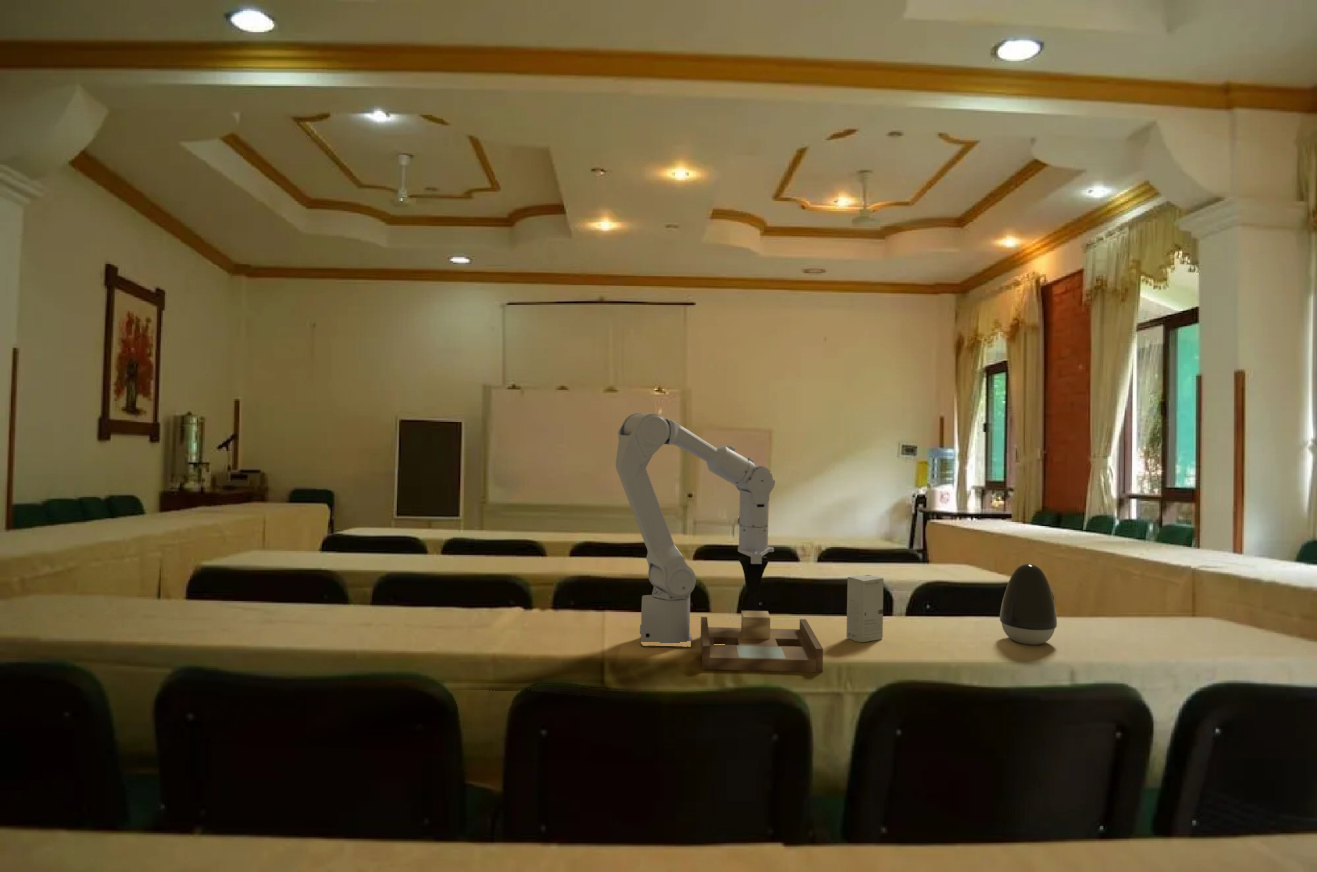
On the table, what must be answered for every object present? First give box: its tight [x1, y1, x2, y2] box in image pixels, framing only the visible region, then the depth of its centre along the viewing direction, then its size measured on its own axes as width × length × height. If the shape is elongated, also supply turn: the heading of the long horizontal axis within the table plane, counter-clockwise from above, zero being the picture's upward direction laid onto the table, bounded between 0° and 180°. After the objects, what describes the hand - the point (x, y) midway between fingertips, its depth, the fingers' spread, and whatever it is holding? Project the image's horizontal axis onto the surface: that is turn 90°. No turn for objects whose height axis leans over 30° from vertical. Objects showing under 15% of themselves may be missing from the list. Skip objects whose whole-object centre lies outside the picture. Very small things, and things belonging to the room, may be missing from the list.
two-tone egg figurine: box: [999, 563, 1058, 646], centre depth 160 cm, size 10×10×15 cm
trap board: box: [700, 616, 824, 673], centre depth 149 cm, size 20×20×4 cm
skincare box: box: [846, 574, 884, 643], centre depth 160 cm, size 6×4×12 cm
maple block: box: [740, 610, 771, 639], centre depth 154 cm, size 5×5×4 cm
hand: (752, 593), depth 161 cm, fingers closed
